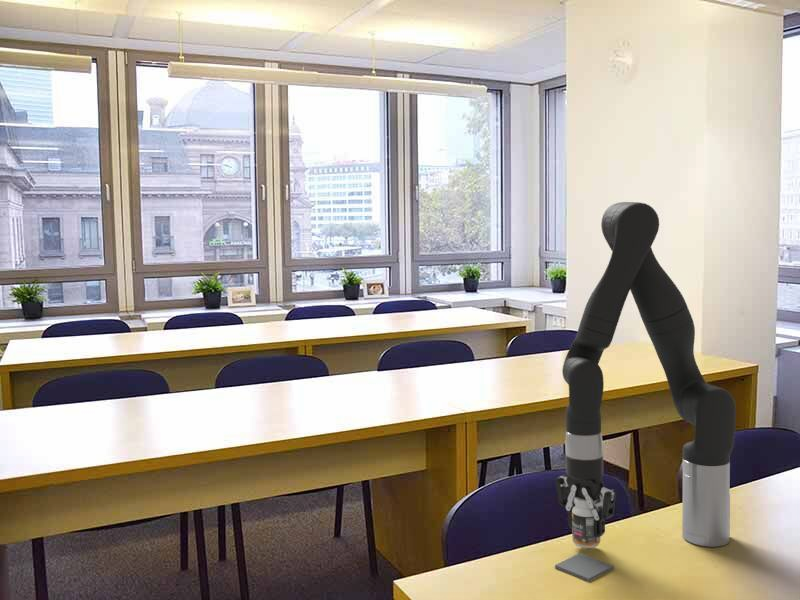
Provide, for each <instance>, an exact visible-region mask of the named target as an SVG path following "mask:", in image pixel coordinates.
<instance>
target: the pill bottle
mask: <svg viewBox="0 0 800 600" xmlns="http://www.w3.org/2000/svg"><path fill="white" fill-rule="evenodd" d="M593 502H594V504H596V503H597V500H595V501H593ZM574 503H575V506H574V507H573V508H572V528H571V531H572V532H571V535H572V536H571V537H572V540H571V541H572V543H573V544H574V545H575V546H577V547H579V548H582V549H593V548H596V547H598V546H599V545H601V536H600V537H595V536H594V519H595V518H594V516H593V513H592V510H590V509H589V507H588V504H587V501H586V500H584V499H581V498H578V497H574ZM597 509H598V508H597ZM598 512H599V511H598Z"/></svg>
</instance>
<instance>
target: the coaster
mask: <svg viewBox="0 0 800 600" xmlns="http://www.w3.org/2000/svg"><path fill="white" fill-rule="evenodd" d="M614 567H615V566H614V565H613V564H610V563H607V562H605V561H603V560H599V559H597V558H594V557H591V556H589V555H587V554H584V553H581V552H579V553H577V554H575V555H573V556H571V557H569V558H566V559H565V560H563V561H560V562H559V563H556V564H554V568H555V569H557V570H559V571H561V572H563V573H566V574H569V575H572V576H574V577H576V578H579V579H582V580H584V581H586V582H591V581H593V580H595V579H596V578H598V577H600V576H602V575H604V574H606V573H609V572H610V571H612V570H614V569H615V568H614Z"/></svg>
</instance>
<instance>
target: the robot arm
mask: <svg viewBox="0 0 800 600" xmlns="http://www.w3.org/2000/svg"><path fill="white" fill-rule="evenodd" d="M659 229H660V219H659V215H658V213H657V212H656V210H655V209H654V208H653V207H652V206H651V205H649V204H647V203H644V202H638V201H637V202H633V201H629V202H628V201H624V202H623V201H621V202H616V203H613V204H611V205H610V206H608V207H607V208H606V210H605V211H604V213H603V215H602V217H601V232H602V234H603V237H604V239H605V241H606V243H607V245H608V247H609V248H610V250H611V256H610V259H609V261H608V264H607V266H606V268H605V271H604V273H603V275H602V276H601V278H600V279H599V282H598V283H597V284H596V286H595V288H594V289H593V291H592V293H591V294H590V296H589V298H588V299H587V302H586V304H585V306H584V307H585V308H584V310H583V313H582V316H581V320H580V323H579V326H578V329H577V332H576V336H575V337H574V340H573V342H572V343H571V345H570V347H569V349H568V351H567V354H566V356H565V358H564V362H563V365H562V370H561V371H562V377H563V380H564V382H565V383H566V384H568V395H569V396H568V405H567V406H566V409H565V430H566V432H565V439H564V440H565V442H564V444H565V473H566V475H567V476H566V475H565V474H564V475H560V476H558V477H556V478H555V480H554V481H555V486H556V487H555V488H556V494H557V499H558V504H559V506H560V507H565V509H566V511H567V524H568V527H569V528H570V529H572V508H573V507H574V506H575V503H574V497H578V498H581V499H584V500H586V501H587V504H588V507H589V509H590V510H592V513H593V516H594V518H595V519H594V536H595V537H600V538H601V537H602V536H603V535H604V534H605V532H606V520H608V519H610V518H612V517H613V516H614V514H615V508H616V500H617V499H616V498H617V490H616V489H615V488H611V489H609V488H606V487H605V485H604V483H603V478H604V477H603V476H604V443H603V435H602V414H601V408H602V403H603V397H604V383H605V381H604V374H603V370H602V368H601V367H600V365H599V363H600V361H601V358H602V355H603V353H604V350H606V349H607V348H609V347H610V345H611V343H612V342H613V338H614V336H615V332H616V330H617V327H618V323H619V322H620V321H619V320H620V317H621V314H622V311H623V308H624V305H625V303H626V300H627V299H628V298H627V297H628V296H629V293H631V294H632V298H633V299H634V300H633V301H634V302H635V305H636V307H637V309H638V312H639V315H640V317H641V320H642V323H643V325H644V327H645V330H646V332H647V335H648V337H649V338H650V340H651V342H652V345H653V348H654V350H655V353H656V355H657V358H658V359H659V362H660V364H661V367H662V369H663V372H664V373H665V377H666V380H667V384H668V387H669V391H670V394H671V397H672V401H673V404H674V406H675V410H676V411H677V413H678V415H679V417H680V418H681V419H682V420H684V421H685V422H686V423H688V424H690V425H693V426H694V439H693V440H691V441H689V442H686V443H684V445H683V446H682V520H681V522H682V525H681V526H682V527H681V529H682V538H683V539H684V540H685V541H687V542H689V543H691V544H694V545H696V546H701V547H707V548H709V547H712V548H715V547H716V548H717V547H723V546H725V545H728V544H729V542H730V535H731V534H730V533H731V531H730V530H731V494H730V491H731V489H730V484H731V483H730V479H731V477H730V476H731V475H730V470H731V468H730V467H731V459H730V458H731V454H732V452H733V449H734V446H735V439H736V437H735V435H736V422H737V409H736V408H737V407H736V402H735V401H736V400H735V399H734V397H733V395H732V394H731V393H730V392H729V391H728V390H726V389H725V388H722V387H719V386H716V385H713V384H709V383H708V382H706V380H705V379H704V377H703V375H702V373H701V371H700V369H699V367H698V364H697V361H696V358H695V353H694V352H695V350H694V349H695V346H694V345H695V337H696V334H695V333H696V327H695V323H694V320H693V317H692V315H691V312H690V310H689V307H688V305H687V302H686V300H685V298H684V296H683V294H682V292H681V291H680V289H679V287H677V285H676V283H675V282H674V281H673V279H671V277H670V276H669V275H668V273H667V272H666V270H665V269H664V268H663V267H662V266H661V264H660V263H659V261H658V259H657V258H656V256H655V254H654V251H653V249H652V246H653V243H654V241H655V239H656V237H657V234H658V232H659ZM595 500H597V503H596V504H594V502H593V501H595ZM597 508H598V509H597ZM598 511H599V512H598Z"/></svg>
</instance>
